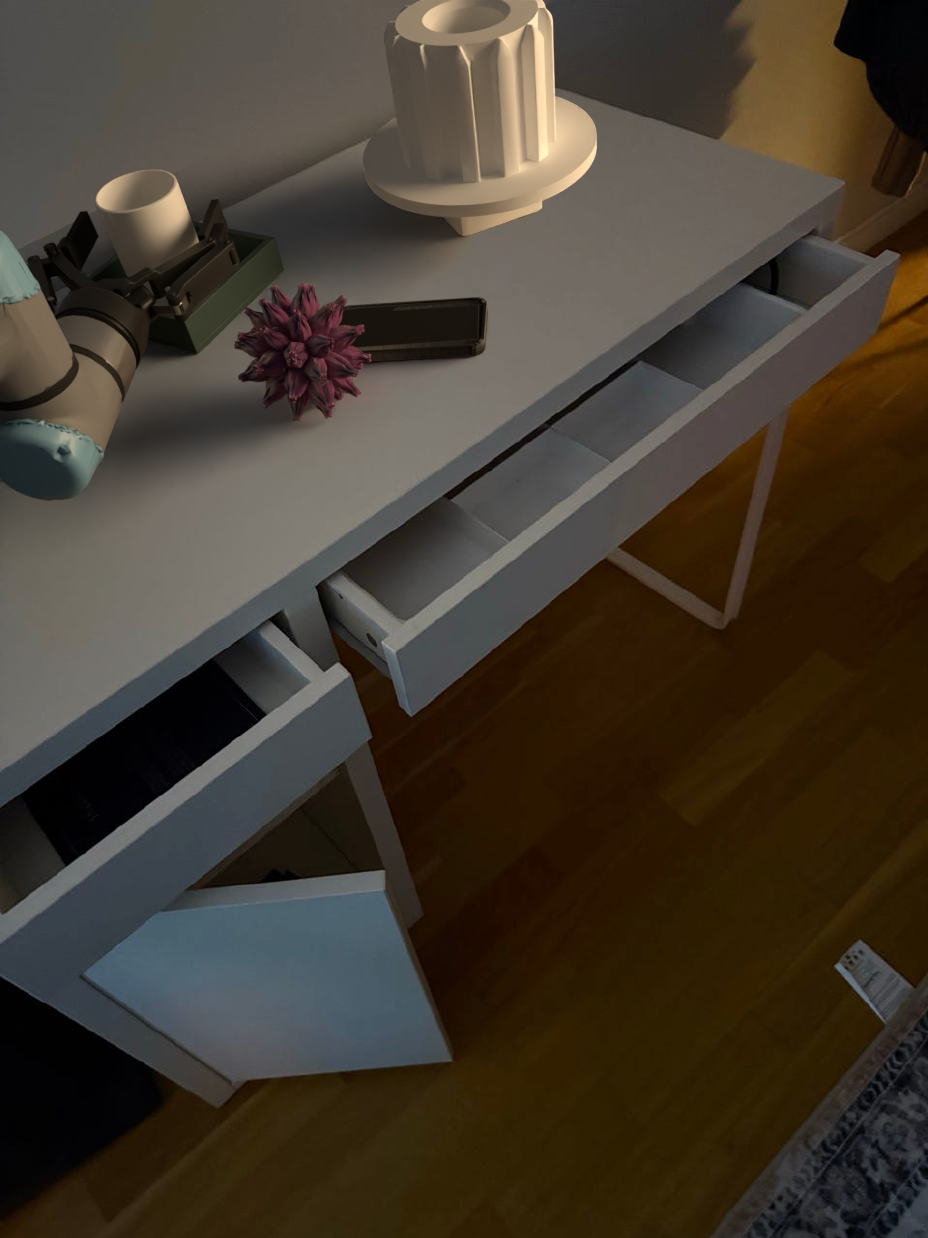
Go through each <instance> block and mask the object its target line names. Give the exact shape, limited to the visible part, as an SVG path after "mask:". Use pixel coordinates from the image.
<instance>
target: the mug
mask: <svg viewBox="0 0 928 1238" xmlns="http://www.w3.org/2000/svg"><path fill="white" fill-rule="evenodd" d="M93 203H94V206H95V208H96V211H97V213H98V215H99V217H100V219H101V221H102V225H103V226H104V228H105V231H106V233H107V235H108V237H109V239H110V241H111V244H112V245H113V248H114V250H115V254H116V253H117V255H118V257H119V259H120V262H121V264H122V266H123V268H124V271H125V273H126V275H127V277H130V276H132V275H134V274H136V273H137V272H139V271H141V270H142V269H144V268H146V267H149V268H151V269H155V268H156V267H158V266H160V265H161V264H163V263H165V262H166V261H168V260H170V259H171V258H173V257H175V256H176V255H178V254H180V253H181V252H183V251H185V250H186V249H188V248H190V247H191V246H193V245H195V244H196V243H198V242H199V240H198V237H197V234H196V231H195V228H194V225H193V223H192V221H193V220H192V217H191V215H190V212H189V209H188V207H187V204H186V201H185V199H184V196H183V193H182V190H181V188H180V185H179V182H178V179H177V177H176V175H174V174H173V173H172V172H170V171H168V170H163V169H157V168H156V169H154V168H153V169H152V168H151V169H142V170H141V169H140V170H136V171H132V172H128V173H125V174H122V175H119V176H118V177H115V178H113V179H111V180H110V181H108V182H107V183H105V184H104V185H102V186H101V187H100V188H99V189H98V190H97V192H96V193H95V195H94V197H93ZM144 285H145V286H146V287H147V288H148V290H149V291H150V292H151V293H152V294H153V291H152V289H151V287H150V285H149V282H148V281H147V282H146V283H144ZM153 296H154V294H153Z"/></svg>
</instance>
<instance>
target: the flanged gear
mask: <svg viewBox="0 0 928 1238" xmlns="http://www.w3.org/2000/svg"><path fill="white" fill-rule="evenodd" d="M553 19H554V18H553V15H552V13H551V11H549V10H548V8H547V7H546V4H545V2H544V0H417V1H416V2H414V3H412V4H411V5H409V4H405V5H404V6H402V8H401V9H400V10H399V13H398V16H397V17H396V20H390V21H388V23H387V24H386V27H385V30H384V33H383V43H384V49H385V56H386V61H387V62H386V63H387V68H388V74H389V75H388V76H389V80H390V87H391V93H392V98H393V105H394V110H395V117H393V118H392V119H390V120H388V121H387V122H386V123H385V124H383V125H382V126H381V127H380V128H379V129H378V130H377V131H376V132H375V133H374V134H373V135H372V136H371V137H370V139H369V140H368V142H367V144H366V145H365V148H364V150H363V153H362V165H363V171H364V175H365V179H366V183H367V184H368V185H367V186H368V187H369V189H371V191H372V192H373V193H374V194H375V195H376V196H377V197H378V198H380V199H381V200H383V201H384V202H386V203H387V204H390V205H391V206H394V207H396V208H398V209H400V210H404V211H406V212H411V213H413V214H414V213H415V214H419V215H424V216H431V217H440V218H441V217H442V218H443V219H445V221H446V222H447V223H448V224H449V225H450V227H452V228H453V229H454V231H455V232H456V233H457V234H458V235H460V236H462V237H469V236H472V235H474V234H475V235H476V234H477V233H481V232H484V231H487V230H489V229H492V228H494V227H498V226H500V225H503V224H507V223H509V222H512V221H514V220H518V219H521V218H523V217H526V216H528V215H531V214H534V213H537V212H539V211H540V210H542V209H543V201H545V200H547V199H549V198H552V197H554V196H556V195H558V194H560V193H561V192H563V191H564V190H566V189H569V187H571V186H572V185H574V184H575V183H576V182H578V181H579V180H580V179H581V178H582V177H583V176H584V175H585V174H586V173H587V171H588V170H589V169H590V168H591V166H592V164H593V162H594V161H595V158H596V155H597V149H598V148H597V147H598V143H597V142H598V141H597V140H598V134H597V127H596V125H595V122H594V120H593V118H592V117H591V116H590V115H589V114H588V113H587V112H586V110H584V109H583V108H581V107H580V106H578V105H577V104H576V103H573V102H572V101H570V100H567V99H565V98H562V97H559V96H556V87H555V86H556V85H555V50H554V47H555V45H554V20H553Z"/></svg>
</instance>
